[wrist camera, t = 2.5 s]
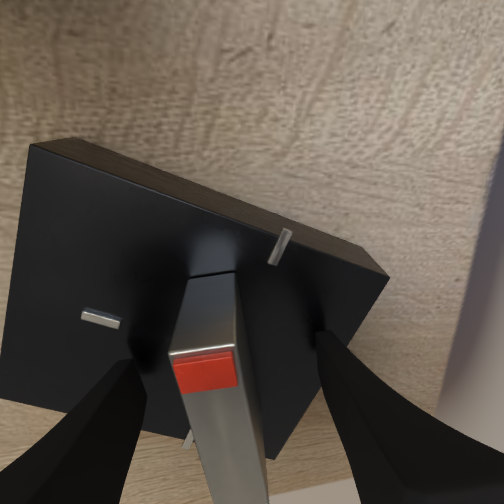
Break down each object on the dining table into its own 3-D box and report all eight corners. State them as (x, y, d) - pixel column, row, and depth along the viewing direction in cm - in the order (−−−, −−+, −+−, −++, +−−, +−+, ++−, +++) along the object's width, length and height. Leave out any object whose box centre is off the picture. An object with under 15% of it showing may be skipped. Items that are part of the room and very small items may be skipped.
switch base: (391, 250, 15) (428, 283, 12) (287, 419, 19) (296, 473, 16) (75, 127, 12) (26, 132, 10) (32, 354, 17) (-10, 406, 14)
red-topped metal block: (261, 416, 15) (271, 524, 11) (222, 421, 15) (218, 531, 11) (236, 271, 12) (236, 349, 8) (187, 278, 12) (164, 360, 8)
